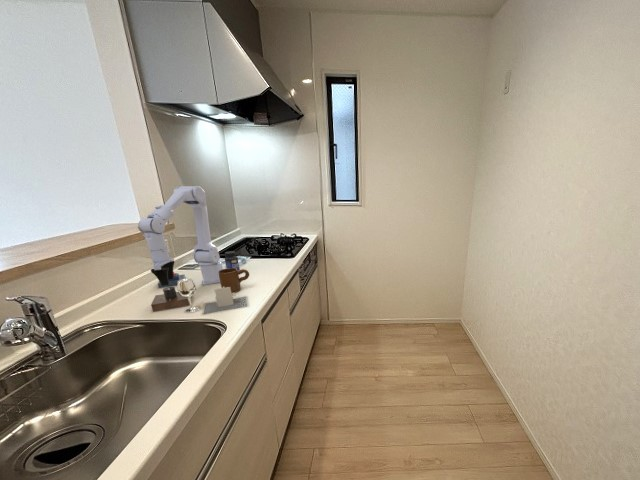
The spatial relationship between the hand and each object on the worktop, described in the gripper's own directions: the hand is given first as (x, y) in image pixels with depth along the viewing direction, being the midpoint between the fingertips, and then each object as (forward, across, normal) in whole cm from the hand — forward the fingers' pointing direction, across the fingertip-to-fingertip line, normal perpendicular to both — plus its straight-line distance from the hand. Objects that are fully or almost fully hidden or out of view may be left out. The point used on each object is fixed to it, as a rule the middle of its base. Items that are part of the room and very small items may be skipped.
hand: (167, 282), depth 126 cm
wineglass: (+8, -14, -9) cm, 18 cm away
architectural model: (+8, -13, -21) cm, 26 cm away
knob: (+5, -4, -1) cm, 6 cm away
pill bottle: (+9, +32, -21) cm, 39 cm away
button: (+5, +26, +6) cm, 27 cm away
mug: (+8, +3, -24) cm, 26 cm away
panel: (+8, -4, -1) cm, 9 cm away
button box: (+8, +26, +6) cm, 28 cm away
